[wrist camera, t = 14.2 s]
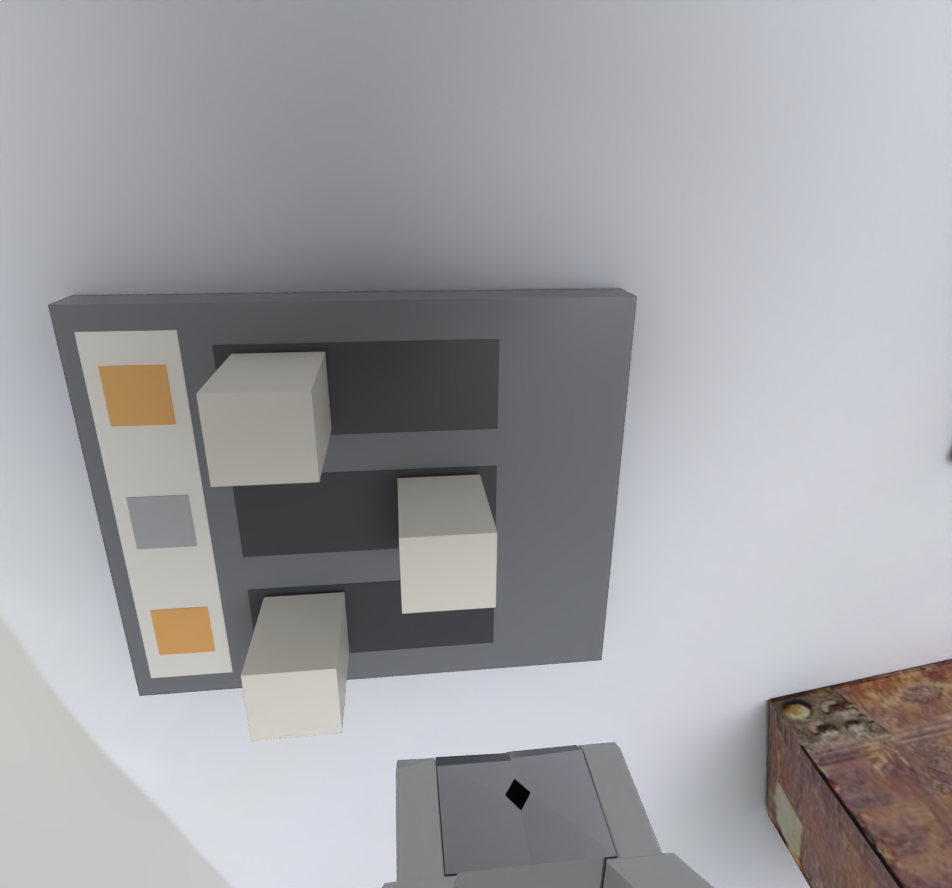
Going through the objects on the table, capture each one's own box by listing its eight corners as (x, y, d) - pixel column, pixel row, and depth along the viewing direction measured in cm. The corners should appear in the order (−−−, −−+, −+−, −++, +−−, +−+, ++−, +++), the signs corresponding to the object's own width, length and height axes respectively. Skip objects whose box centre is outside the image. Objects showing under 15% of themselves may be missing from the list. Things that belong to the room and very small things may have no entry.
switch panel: (72, 295, 26) (46, 305, 24) (620, 288, 28) (637, 297, 26) (153, 666, 33) (138, 697, 31) (590, 634, 35) (602, 661, 33)
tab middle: (397, 478, 28) (398, 538, 23) (479, 474, 28) (497, 532, 24) (400, 544, 29) (401, 613, 25) (479, 539, 30) (495, 607, 25)
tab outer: (264, 597, 29) (240, 675, 25) (344, 592, 30) (336, 668, 25) (271, 655, 31) (250, 741, 26) (349, 649, 31) (342, 733, 26)
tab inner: (231, 353, 25) (195, 394, 21) (325, 351, 26) (311, 390, 21) (242, 432, 26) (210, 487, 22) (331, 429, 27) (319, 482, 22)
